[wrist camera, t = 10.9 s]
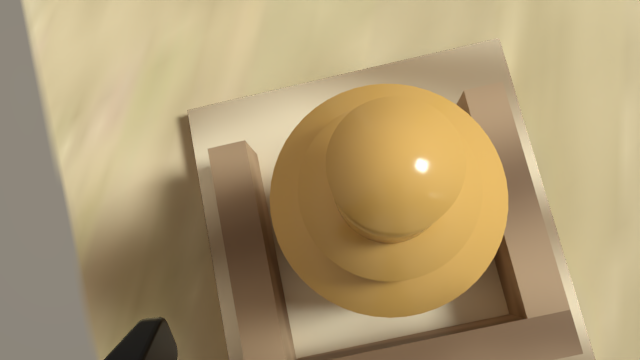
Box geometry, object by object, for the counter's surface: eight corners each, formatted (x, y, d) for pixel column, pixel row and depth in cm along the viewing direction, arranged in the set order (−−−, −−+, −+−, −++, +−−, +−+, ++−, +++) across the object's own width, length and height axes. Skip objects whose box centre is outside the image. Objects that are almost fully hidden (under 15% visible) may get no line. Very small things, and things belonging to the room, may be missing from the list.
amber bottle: (473, 257, 21) (633, 219, 9) (353, 329, 21) (336, 397, 8) (399, 142, 22) (445, -42, 10) (285, 209, 22) (181, 111, 10)
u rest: (592, 368, 21) (629, 383, 18) (246, 438, 21) (227, 463, 18) (495, 43, 24) (514, 10, 21) (191, 114, 24) (167, 91, 21)
